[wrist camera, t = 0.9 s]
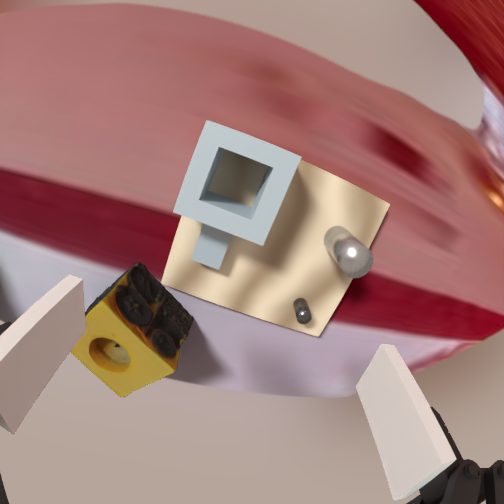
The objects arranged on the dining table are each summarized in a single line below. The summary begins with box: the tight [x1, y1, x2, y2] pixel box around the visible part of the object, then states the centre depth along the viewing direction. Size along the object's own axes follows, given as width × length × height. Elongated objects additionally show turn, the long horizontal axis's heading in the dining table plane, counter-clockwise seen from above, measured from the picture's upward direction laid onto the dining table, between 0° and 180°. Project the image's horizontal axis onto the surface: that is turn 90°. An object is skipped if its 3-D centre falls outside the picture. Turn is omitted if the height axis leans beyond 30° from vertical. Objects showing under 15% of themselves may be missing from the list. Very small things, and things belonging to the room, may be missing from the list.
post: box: [324, 226, 373, 278], centre depth 27 cm, size 3×3×6 cm
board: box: [161, 149, 390, 337], centre depth 31 cm, size 20×18×2 cm
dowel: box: [293, 298, 312, 324], centre depth 31 cm, size 2×2×3 cm
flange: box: [173, 120, 301, 270], centre depth 26 cm, size 13×8×6 cm, turn 158°
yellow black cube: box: [70, 262, 193, 397], centre depth 30 cm, size 10×10×10 cm
